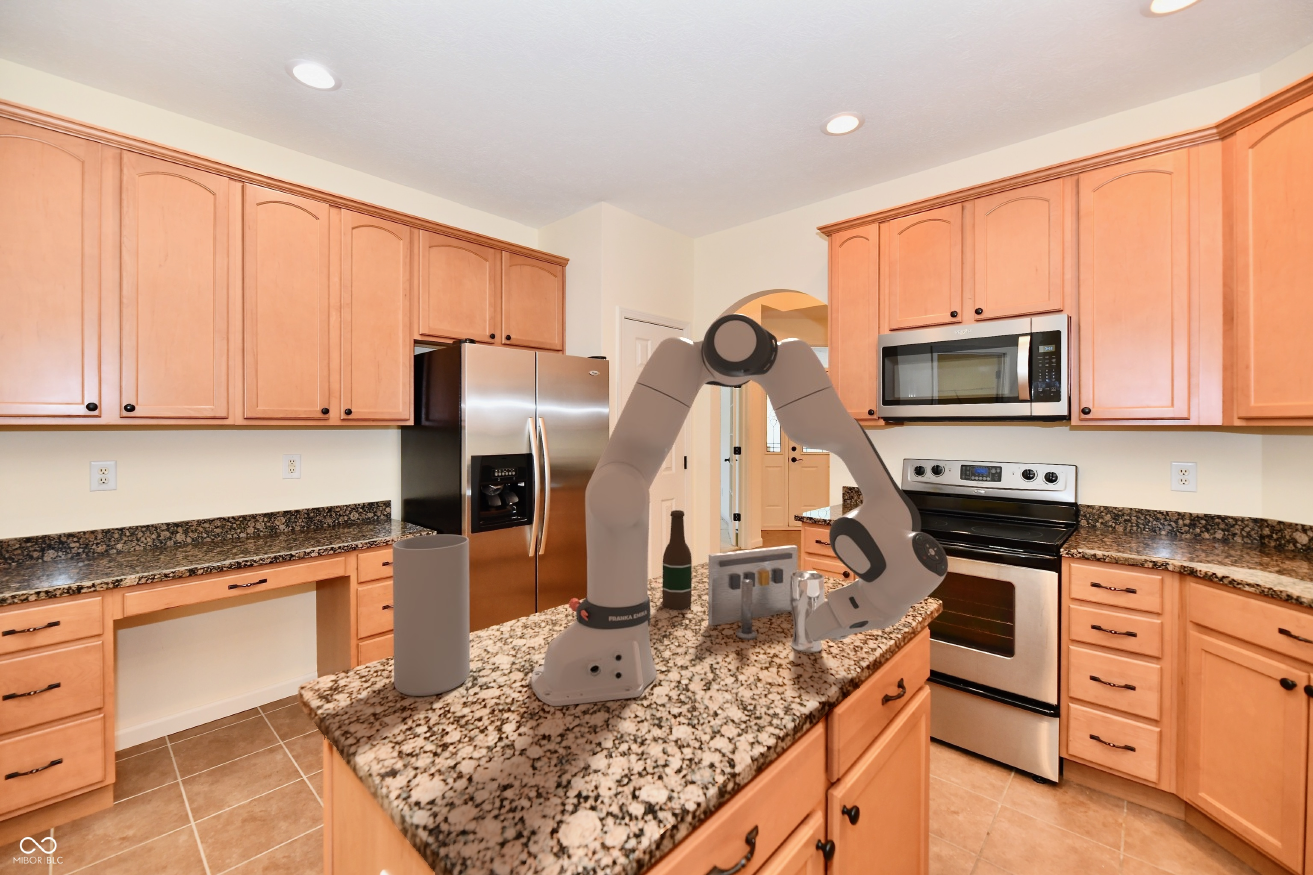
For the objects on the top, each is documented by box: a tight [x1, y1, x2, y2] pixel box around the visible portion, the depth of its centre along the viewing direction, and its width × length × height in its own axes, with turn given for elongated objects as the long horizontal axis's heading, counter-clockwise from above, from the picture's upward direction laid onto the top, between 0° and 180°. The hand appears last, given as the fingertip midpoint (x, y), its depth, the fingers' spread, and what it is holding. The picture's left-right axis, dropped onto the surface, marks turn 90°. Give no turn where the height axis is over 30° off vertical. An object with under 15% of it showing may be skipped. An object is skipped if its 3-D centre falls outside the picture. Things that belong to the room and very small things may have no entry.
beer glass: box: [790, 570, 826, 654], centre depth 113 cm, size 7×7×15 cm
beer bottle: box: [662, 509, 693, 611], centre depth 139 cm, size 8×8×24 cm
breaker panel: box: [707, 544, 799, 627], centre depth 130 cm, size 24×3×16 cm, turn 114°
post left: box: [736, 579, 758, 641], centre depth 119 cm, size 4×4×12 cm
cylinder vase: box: [392, 534, 471, 697], centre depth 98 cm, size 12×12×25 cm
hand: (836, 636), depth 106 cm, fingers closed
